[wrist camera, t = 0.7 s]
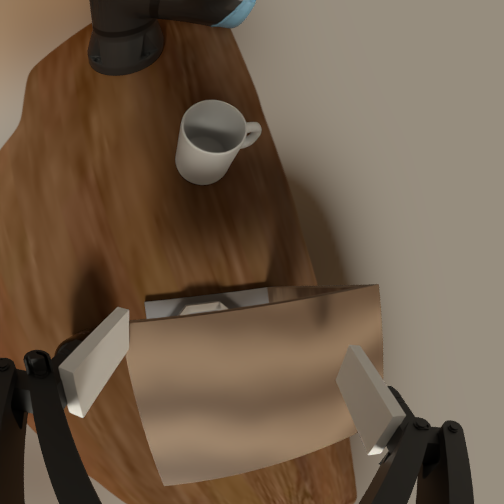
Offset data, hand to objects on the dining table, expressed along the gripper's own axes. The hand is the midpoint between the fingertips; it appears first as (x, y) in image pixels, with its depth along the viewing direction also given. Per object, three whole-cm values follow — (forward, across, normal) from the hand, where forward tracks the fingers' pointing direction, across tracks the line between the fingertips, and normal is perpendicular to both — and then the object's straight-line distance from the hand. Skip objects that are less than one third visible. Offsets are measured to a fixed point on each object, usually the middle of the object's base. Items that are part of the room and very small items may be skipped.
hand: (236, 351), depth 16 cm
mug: (+32, -7, +13) cm, 35 cm away
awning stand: (+23, -2, -12) cm, 26 cm away
